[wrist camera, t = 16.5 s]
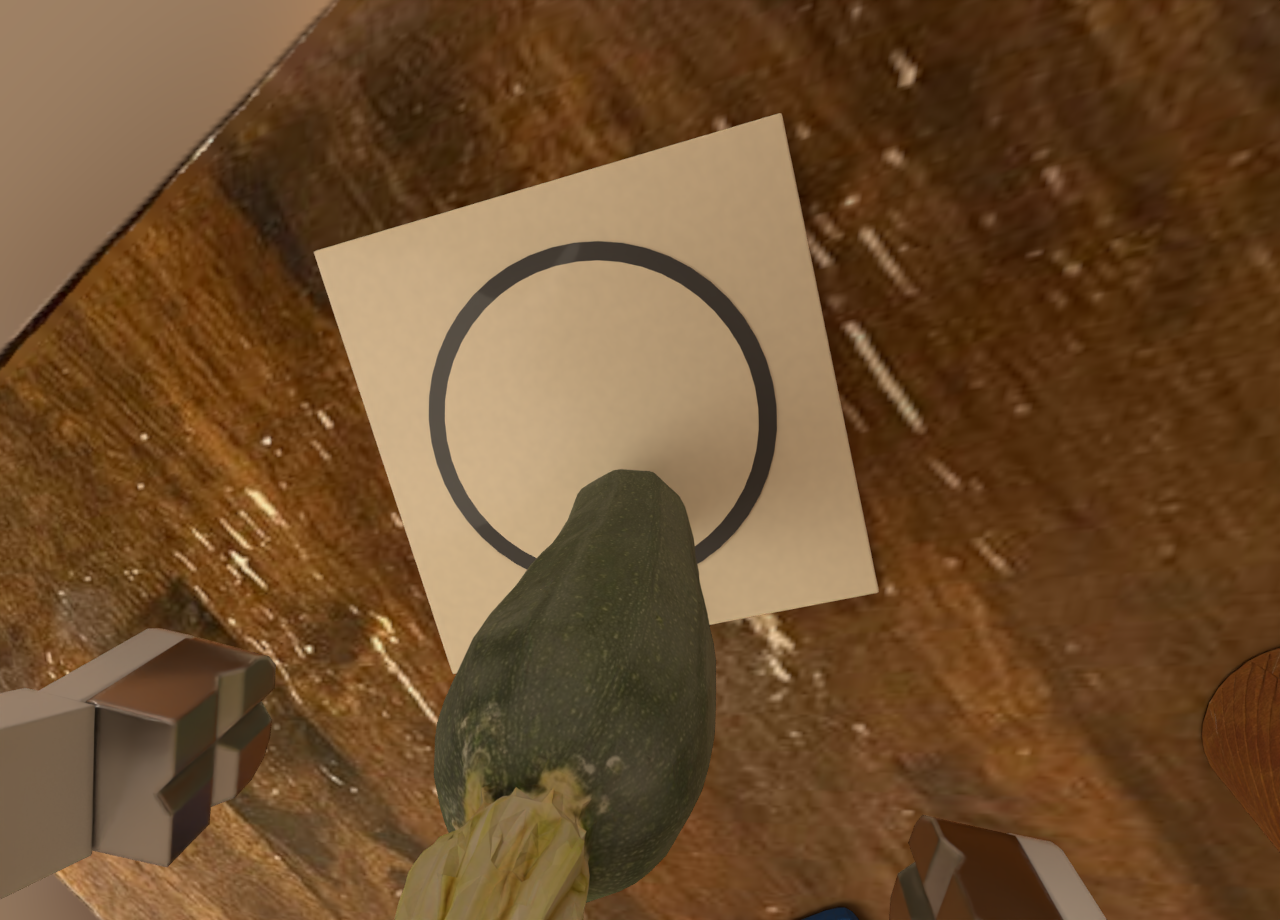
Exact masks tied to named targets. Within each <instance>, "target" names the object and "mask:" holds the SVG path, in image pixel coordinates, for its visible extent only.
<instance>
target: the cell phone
mask: <svg viewBox="0 0 1280 920" xmlns="http://www.w3.org/2000/svg"><path fill="white" fill-rule="evenodd" d="M802 920H859V919H858V918H857V917H856V916H855V914H854V913H853V912H852V911H850V910H848V909H847V908H845V907H837V908H833V909H829V910H825V911H822V912H820V913H817V914H815V915H812V916H810V917H807V918H805V919H802Z"/></svg>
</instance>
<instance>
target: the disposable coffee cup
mask: <svg viewBox="0 0 1280 920" xmlns="http://www.w3.org/2000/svg"><path fill="white" fill-rule="evenodd" d="M1202 740H1203V747H1204V752H1205V754H1206V757H1207V759H1208V762H1209V764H1210V766H1211V767H1212V769H1213V770H1214V772H1215V773H1216V774H1217V776H1218V777H1219V778H1220V779H1221V780H1222V782H1223V783H1224V784H1225V785H1226V786H1227V788H1228V789H1229V790H1230V791H1231V792H1232V794H1233V795H1234V796H1235V797H1236V799H1237V800H1238V801H1239V802H1240V804H1241V805H1242V806H1243V807H1244V809H1245V810H1246V811H1247V812H1248V814H1249V815H1250V816H1251V817H1252V819H1253V820H1254V821H1255V822H1256V824H1257V825H1258V826H1259V827H1260V828H1261V830H1262V831H1263V832H1264V833H1265V835H1266V836H1267V837H1268V838H1269V839H1270V841H1271V842H1272V843H1273V844H1274V846H1275V847H1276V848H1277V849H1278V851H1279V852H1280V648H1278V649H1275V650H1272V651H1269V652H1266V653H1264V654H1262V655H1260V656H1258V657H1255V658H1253V659H1251V660H1249V661H1248V662H1247V663H1245V664H1244V665H1243V666H1241V667H1240V668H1239V669H1238V670H1236V671H1235V672H1234V673H1232V674H1231V675H1230V676H1229V677H1228V678H1227V679H1226V680H1225V681H1224V682H1223V683H1222V684H1221V686H1220V687H1219V688H1218V689H1217V691H1216V693H1215V694H1214V696H1213V698H1212V699H1211V701H1210V703H1209V705H1208V708H1207V711H1206V715H1205V718H1204V721H1203V729H1202Z"/></svg>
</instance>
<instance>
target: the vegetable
mask: <svg viewBox="0 0 1280 920" xmlns="http://www.w3.org/2000/svg"><path fill="white" fill-rule="evenodd" d="M715 711H716V657H715V650H714V643H713V639H712V635H711V631H710V626H709V619H708V614H707V609H706V605H705V601H704V597H703V593H702V589H701V585H700V579H699V570H698V565H697V561H696V556H695V544H694V537H693V534H692V530H691V527H690V522H689V518H688V515H687V511H686V508H685V505H684V503H683V502H682V500H681V498H680V496H679V495H678V494H677V493H676V492H675V491H673V490H672V489H671V488H670V487H669V486H668V485H667V484H666V483H665V482H664V481H663V480H662V479H661V478H659V477H658V476H657V475H656V474H655V473H653V472H651V471H639V470H626V469H618V470H613V471H611V472H609V473H607V474H605V475H603V476H602V477H600V478H598V479H596V480H594V481H593V482H591V483H589V484H588V485H586V486H585V487H583V488H582V489H581V490H580V491H579V493H578V494H577V497H576V499H575V502H574V504H573V507H572V510H571V512H570V515H569V518H568V520H567V522H566V523H565V525H564V526H563V528H562V530H561V531H560V533H559V534H558V536H557V537H556V539H555V540H554V541H553V543H552V544H551V545H550V546H549V547H547V548H546V549H545V550H544V551H543V552H542V553H541V554H540V555H539V556H538V557H537V558H536V559H535V561H534V562H533V563H532V564H531V565H530V566H529V568H528V569H527V571H526V572H525V573H524V575H523V576H522V578H521V579H520V580H519V582H518V583H517V585H516V586H515V587H514V588H513V589H512V590H511V591H510V592H509V593H508V595H507V596H506V597H505V598H504V599H503V600H502V601H501V602H500V603H499V604H498V606H497V607H496V608H495V609H494V610H493V611H492V612H491V613H490V615H489V616H488V618H487V619H486V620H485V622H484V623H483V625H482V626H481V628H480V629H479V631H478V632H477V633H476V635H475V636H474V637H473V639H472V641H471V644H470V646H469V648H468V650H467V652H466V654H465V657H464V659H463V661H462V663H461V665H460V667H459V670H458V672H457V674H456V676H455V678H454V680H453V682H452V685H451V687H450V689H449V692H448V694H447V696H446V698H445V701H444V704H443V707H442V710H441V713H440V716H439V719H438V722H437V729H436V736H435V760H434V779H435V784H436V789H437V794H438V799H439V803H440V808H441V811H442V815H443V818H444V822H445V824H446V827H447V829H448V832H449V833H448V834H445V835H443V836H441V837H439V838H438V839H437V840H436V842H435V843H434V844H433V845H432V846H430V847H429V848H427V849H426V850H424V851H423V853H422V854H421V855H420V856H419V858H418V859H417V860H416V861H415V863H414V864H413V866H412V868H411V869H410V871H409V872H408V876H407V880H406V884H405V887H404V889H403V892H402V895H401V898H400V901H399V903H398V907H397V912H396V916H395V920H583V913H584V909H585V904H586V903H587V902H590V901H592V900H595V899H598V898H601V897H604V896H607V895H610V894H613V893H616V892H619V891H621V890H623V889H625V888H627V887H629V886H631V885H633V884H635V883H636V882H638V881H639V880H640V879H642V878H643V877H644V876H645V875H647V874H648V873H649V872H650V871H651V870H652V869H653V868H654V867H655V866H656V865H657V864H658V863H659V862H660V861H661V860H662V859H663V858H664V857H665V856H666V855H667V853H668V852H669V850H670V848H671V846H672V845H673V843H674V841H675V840H676V838H677V836H678V834H679V833H680V831H681V829H682V828H683V826H684V824H685V823H686V821H687V819H688V817H689V816H690V814H691V812H692V810H693V808H694V806H695V804H696V802H697V800H698V798H699V796H700V793H701V791H702V789H703V785H704V782H705V778H706V775H707V771H708V767H709V763H710V758H711V752H712V747H713V741H714V733H715Z"/></svg>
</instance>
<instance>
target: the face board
mask: <svg viewBox="0 0 1280 920" xmlns="http://www.w3.org/2000/svg"><path fill="white" fill-rule="evenodd" d="M314 254H315V257H316V260H317V264H318V267H319V270H320V273H321V276H322V279H323V282H324V285H325V288H326V291H327V294H328V297H329V300H330V303H331V306H332V309H333V312H334V315H335V318H336V321H337V324H338V327H339V330H340V333H341V336H342V339H343V342H344V345H345V348H346V352H347V355H348V358H349V361H350V364H351V367H352V370H353V373H354V376H355V379H356V382H357V385H358V388H359V391H360V394H361V397H362V400H363V403H364V406H365V409H366V412H367V415H368V418H369V421H370V424H371V427H372V430H373V433H374V436H375V440H376V443H377V446H378V449H379V452H380V455H381V458H382V461H383V464H384V467H385V470H386V473H387V476H388V479H389V482H390V485H391V488H392V491H393V494H394V497H395V500H396V503H397V506H398V509H399V512H400V515H401V518H402V521H403V524H404V528H405V531H406V534H407V537H408V540H409V543H410V546H411V549H412V552H413V555H414V558H415V561H416V564H417V567H418V570H419V573H420V576H421V579H422V582H423V585H424V588H425V591H426V594H427V597H428V600H429V603H430V606H431V609H432V612H433V616H434V619H435V622H436V625H437V628H438V631H439V634H440V637H441V640H442V643H443V646H444V649H445V652H446V655H447V658H448V661H449V664H450V667H451V670H452V673H453V674H455V673H457V672H458V670H459V667H460V665H461V663H462V661H463V659H464V657H465V654H466V652H467V650H468V648H469V646H470V644H471V641H472V639H473V637H474V636H475V635H476V633H477V632H478V631H479V629H480V628H481V626H482V625H483V623H484V622H485V620H486V619H487V618H488V616H489V615H490V613H491V612H492V611H493V610H494V609H495V608H496V607H497V606H498V604H499V603H500V602H501V601H502V600H503V599H504V598H505V597H506V596H507V595H508V593H509V592H510V591H511V590H512V589H513V588H514V587H515V586H516V585H517V583H518V582H519V580H520V579H521V578H522V576H523V575H524V573H525V572H526V571H527V569H528V568H529V566H530V565H531V564H532V563H533V562H534V561H535V559H536V558H537V557H538V556H539V555H540V554H541V553H542V552H543V551H544V550H545V549H546V548H547V547H549V546H550V545H551V544H552V543H553V541H554V540H555V539H556V537H557V536H558V534H559V533H560V531H561V530H562V528H563V526H564V525H565V523H566V522H567V520H568V518H569V515H570V512H571V510H572V507H573V504H574V502H575V499H576V497H577V494H578V493H579V491H580V490H581V489H582V488H583V487H585V486H586V485H588V484H589V483H591V482H593V481H594V480H596V479H598V478H600V477H602V476H603V475H605V474H607V473H609V472H611V471H613V470H618V469H626V470H639V471H651V472H653V473H655V474H656V475H657V476H658V477H659V478H661V479H662V480H663V481H664V482H665V483H666V484H667V485H668V486H669V487H670V488H671V489H672V490H673V491H675V492H676V493H677V494H678V495H679V496H680V498H681V500H682V502H683V503H684V505H685V508H686V511H687V515H688V518H689V522H690V527H691V530H692V534H693V537H694V544H695V556H696V561H697V565H698V570H699V579H700V585H701V589H702V593H703V597H704V601H705V605H706V609H707V614H708V619H709V625H712V624H717V623H722V622H727V621H733V620H738V619H743V618H748V617H754V616H759V615H764V614H769V613H775V612H780V611H785V610H790V609H795V608H801V607H806V606H811V605H816V604H822V603H827V602H832V601H837V600H843V599H848V598H853V597H858V596H864V595H869V594H874V593H878V591H879V590H878V585H877V580H876V575H875V570H874V565H873V560H872V555H871V550H870V545H869V540H868V535H867V531H866V526H865V521H864V516H863V511H862V506H861V501H860V496H859V491H858V486H857V481H856V476H855V471H854V466H853V462H852V457H851V452H850V447H849V442H848V437H847V432H846V427H845V422H844V417H843V412H842V407H841V402H840V398H839V393H838V388H837V383H836V378H835V373H834V368H833V363H832V358H831V353H830V348H829V343H828V338H827V333H826V329H825V324H824V319H823V314H822V309H821V304H820V299H819V294H818V289H817V284H816V279H815V274H814V269H813V265H812V260H811V255H810V250H809V245H808V240H807V235H806V230H805V225H804V220H803V215H802V210H801V205H800V200H799V196H798V191H797V186H796V181H795V176H794V171H793V166H792V161H791V156H790V151H789V146H788V141H787V136H786V131H785V127H784V122H783V117H782V114H781V113H778V114H775V115H772V116H768V117H765V118H762V119H758V120H755V121H752V122H748V123H745V124H741V125H738V126H735V127H731V128H728V129H725V130H721V131H718V132H714V133H711V134H708V135H704V136H701V137H698V138H694V139H691V140H688V141H684V142H681V143H677V144H674V145H671V146H667V147H664V148H661V149H657V150H654V151H650V152H647V153H644V154H640V155H637V156H634V157H630V158H627V159H623V160H620V161H617V162H613V163H610V164H607V165H603V166H600V167H597V168H593V169H590V170H586V171H583V172H580V173H576V174H573V175H570V176H566V177H563V178H559V179H556V180H553V181H549V182H546V183H543V184H539V185H536V186H533V187H529V188H526V189H522V190H519V191H516V192H512V193H509V194H506V195H502V196H499V197H495V198H492V199H489V200H485V201H482V202H479V203H475V204H472V205H469V206H465V207H462V208H458V209H455V210H452V211H448V212H445V213H442V214H438V215H435V216H431V217H428V218H425V219H421V220H418V221H415V222H411V223H408V224H405V225H401V226H398V227H394V228H391V229H388V230H384V231H381V232H378V233H374V234H371V235H367V236H364V237H361V238H357V239H354V240H351V241H347V242H344V243H340V244H337V245H334V246H330V247H327V248H324V249H320V250H317V251H315V252H314Z"/></svg>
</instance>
